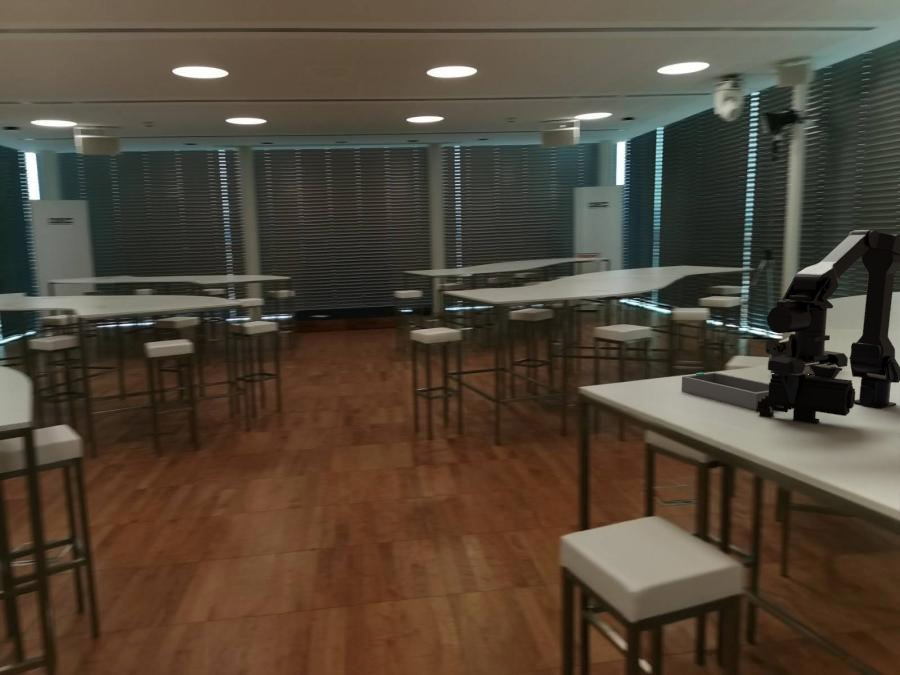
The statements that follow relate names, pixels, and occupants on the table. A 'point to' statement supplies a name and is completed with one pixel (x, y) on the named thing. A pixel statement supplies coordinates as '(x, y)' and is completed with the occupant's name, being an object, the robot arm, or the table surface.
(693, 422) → the table surface
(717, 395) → the gray open-top storage bin
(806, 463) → the table surface
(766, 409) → the black stepped block
